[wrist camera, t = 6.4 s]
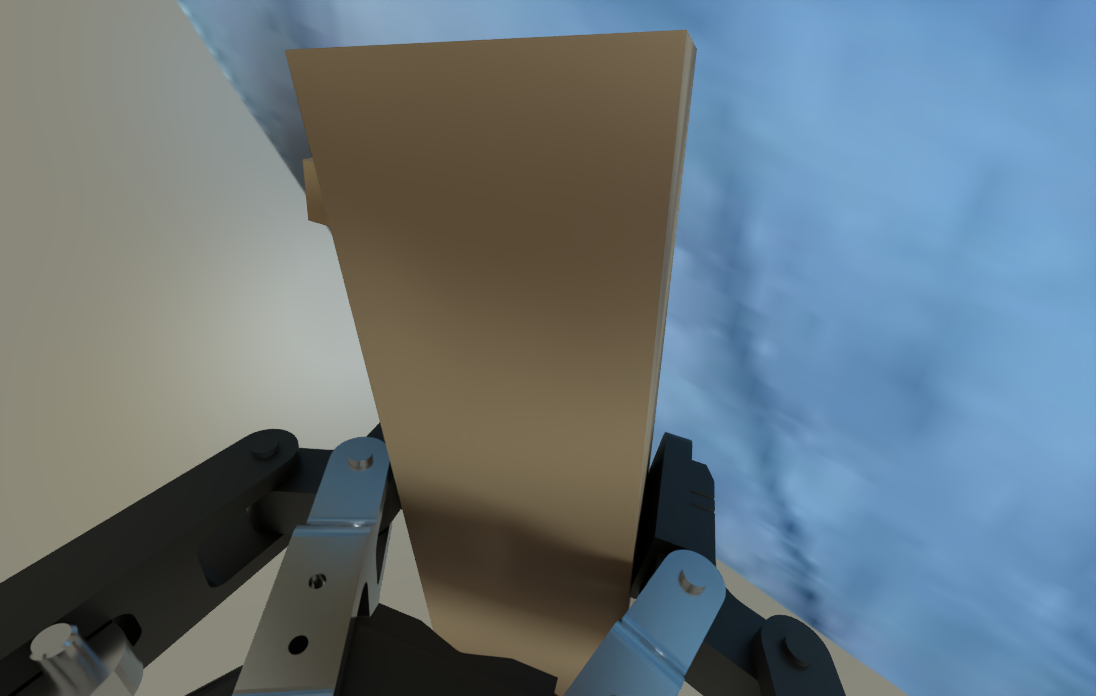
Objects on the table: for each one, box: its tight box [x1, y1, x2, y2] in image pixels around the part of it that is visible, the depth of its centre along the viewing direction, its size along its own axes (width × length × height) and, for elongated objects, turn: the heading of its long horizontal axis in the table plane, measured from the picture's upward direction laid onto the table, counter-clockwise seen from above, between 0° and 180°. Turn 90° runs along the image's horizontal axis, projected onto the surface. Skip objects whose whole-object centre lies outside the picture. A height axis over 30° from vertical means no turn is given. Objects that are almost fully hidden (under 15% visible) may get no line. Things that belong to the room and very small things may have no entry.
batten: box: [285, 30, 697, 696], centre depth 12 cm, size 18×5×5 cm, turn 1°
